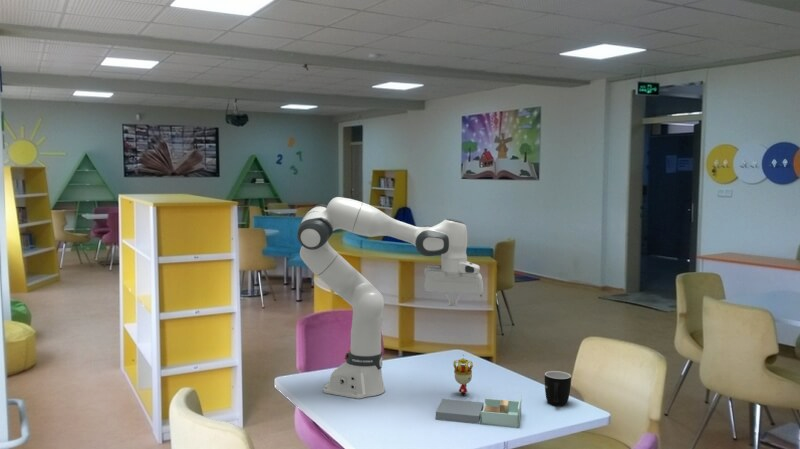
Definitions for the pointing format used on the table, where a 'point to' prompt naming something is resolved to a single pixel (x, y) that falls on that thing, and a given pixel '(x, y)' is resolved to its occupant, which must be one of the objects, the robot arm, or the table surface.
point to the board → (459, 411)
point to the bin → (502, 414)
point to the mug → (557, 387)
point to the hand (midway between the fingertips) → (453, 305)
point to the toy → (463, 374)
